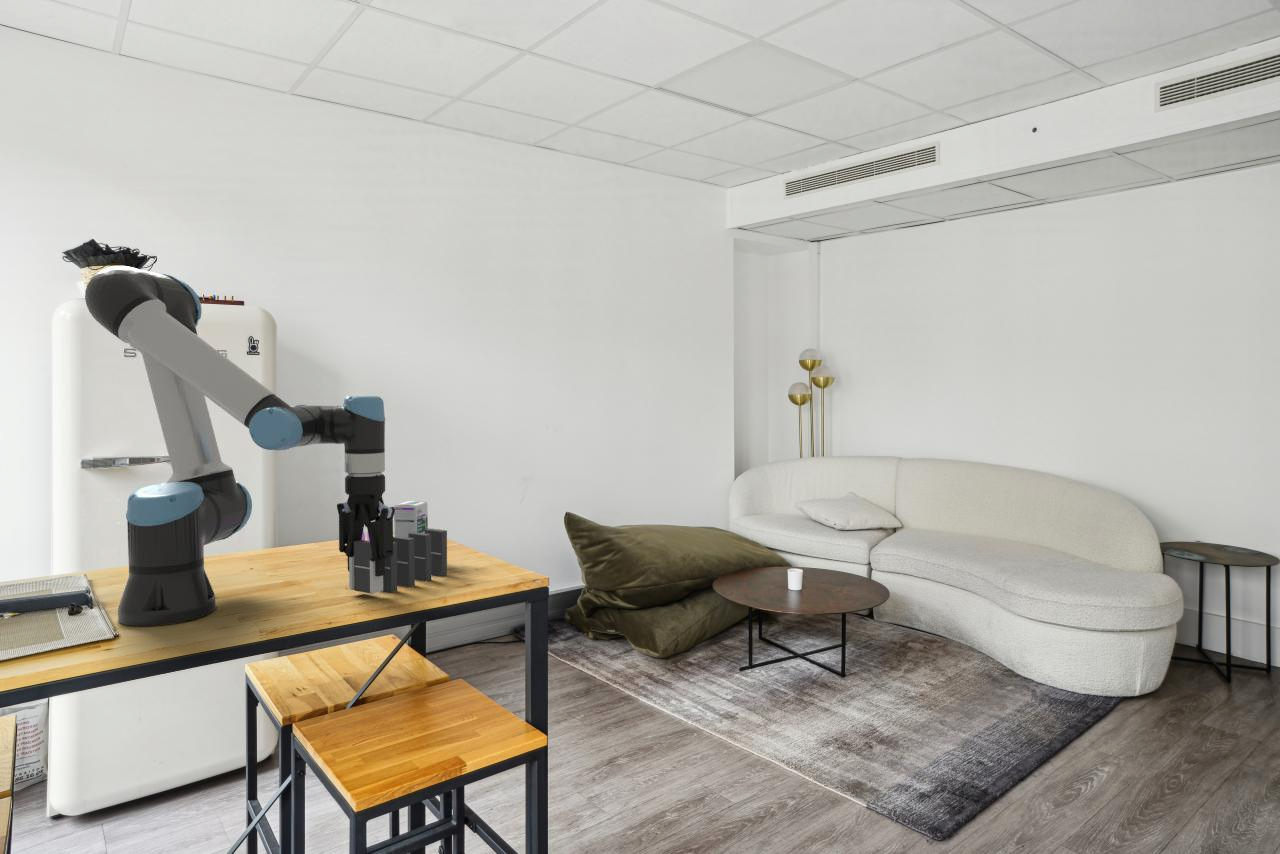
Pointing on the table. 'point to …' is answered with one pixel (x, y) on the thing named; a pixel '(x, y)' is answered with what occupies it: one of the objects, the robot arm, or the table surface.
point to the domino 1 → (362, 565)
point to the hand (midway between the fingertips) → (366, 589)
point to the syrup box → (410, 518)
